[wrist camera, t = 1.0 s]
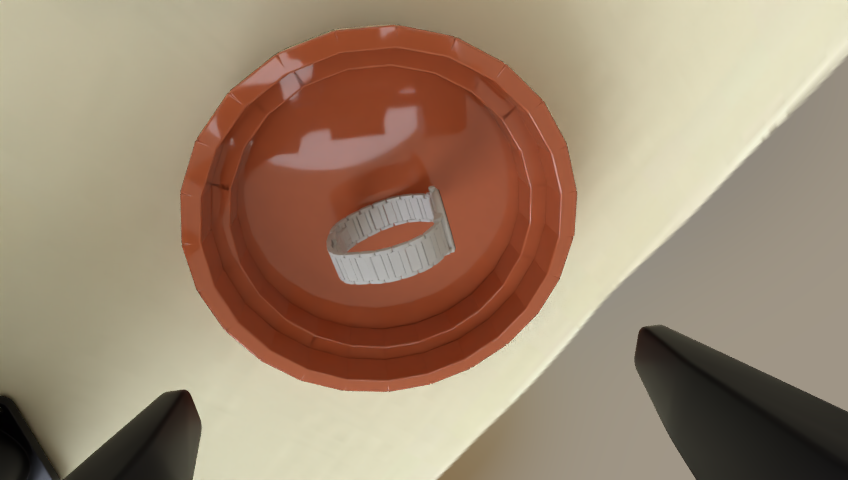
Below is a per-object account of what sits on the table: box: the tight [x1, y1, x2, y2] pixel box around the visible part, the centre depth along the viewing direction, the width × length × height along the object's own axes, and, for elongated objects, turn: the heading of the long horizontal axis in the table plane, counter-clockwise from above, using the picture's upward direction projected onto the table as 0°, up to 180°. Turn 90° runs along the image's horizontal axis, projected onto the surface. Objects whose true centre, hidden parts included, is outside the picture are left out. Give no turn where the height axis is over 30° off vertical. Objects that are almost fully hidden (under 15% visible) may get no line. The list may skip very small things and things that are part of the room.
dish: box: [180, 24, 577, 392], centre depth 20 cm, size 15×15×4 cm
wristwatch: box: [326, 186, 456, 285], centre depth 19 cm, size 3×5×5 cm, turn 106°
